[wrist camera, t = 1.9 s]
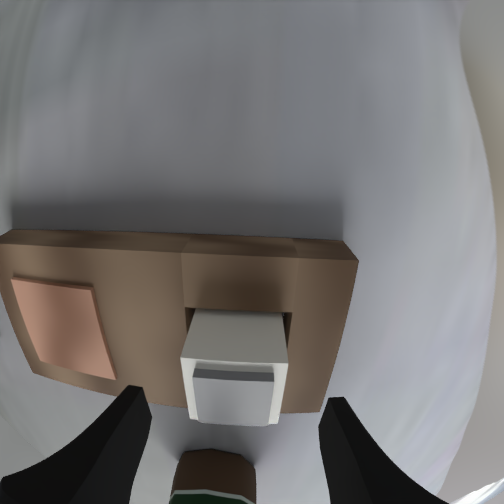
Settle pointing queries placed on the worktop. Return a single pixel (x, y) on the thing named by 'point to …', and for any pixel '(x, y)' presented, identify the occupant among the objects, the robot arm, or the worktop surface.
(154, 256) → the brown wooden flat block
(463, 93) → the worktop surface
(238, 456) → the beer bottle
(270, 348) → the plug
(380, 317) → the worktop surface
